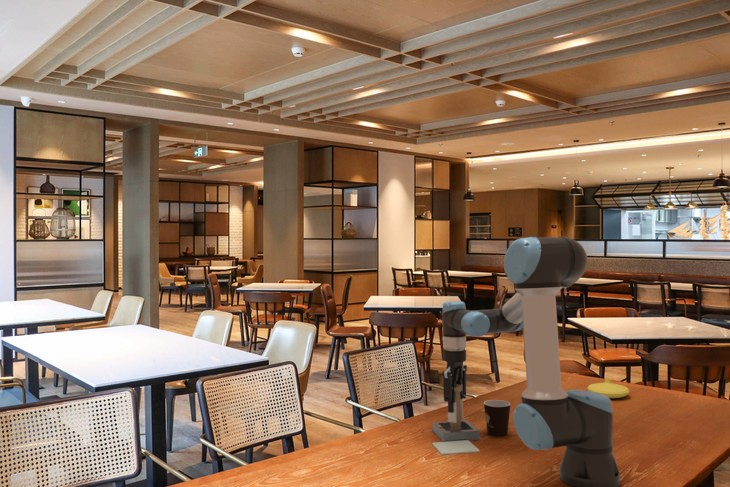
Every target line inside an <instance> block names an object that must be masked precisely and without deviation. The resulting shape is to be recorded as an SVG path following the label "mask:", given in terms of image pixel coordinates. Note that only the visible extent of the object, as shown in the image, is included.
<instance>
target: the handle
mask: <svg viewBox="0 0 730 487" xmlns="http://www.w3.org/2000/svg"><path fill="white" fill-rule="evenodd" d="M452 389H453V387H452ZM462 390H463V385H462V384H461V385H459V384H456V387H455V388H454V391H455V402H456V417H457V422H456V423H453V422H450V426H451V427H450V429H451V431H459V430H461V427H460V426H461V420H462V419H461V401H460V392H461V391H462Z"/></svg>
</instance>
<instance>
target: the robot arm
mask: <svg viewBox="0 0 730 487" xmlns="http://www.w3.org/2000/svg"><path fill="white" fill-rule="evenodd" d="M587 267H588V255H587V253H586V250H585V249H584V247H583V245H582V244H580V242H578V241H576V240H575V239H574V238H570V237H569V236H568V237H566V236H530V237H521V238H518V239H515V240H514V241H512V243H510V245H509V246H508V248H507V249H506V253H505V254H504V260H503V269H504V274H505V275H506V277H507V280H509V281H510V282H511V283H513V284H514V290H515V291H516V292H515V294H514V295H512V297H511V298H509V300H507V302H505V303H504V304H503V305H502V306H500V307H499V308H492V309H480V310H479V309H478V310H475V309H474V310H470V309H467V308H466V307H467V306H466V303H465V302H464V301H459V300H458V301H457V300H456V301H455V300H451V301H444V302H443V303H442V311H441V316H442V317H441V318H442V320H441V322H442V348H443V350H442V360H443V361H444V362H446V370H443V371H442V372H441V376H442V380H443V382H442V384H443V385H442V387H443V401H444V402H446V403H447V421H448V422H453V423H456V422H457V417H456V402H455V391H454V388H455V387H456V384H459V385H461V384H462V385H463V390H462V391H461V392H460V401H461V420H464V400H463V399H466V398H467V396H466V395H467V369H468V366H467V365H465V364H463V363H465V362H466V361H467V350H466V348H467V335H468V336H470V337H478V338H479V337H480V338H481V337H483V336H485V335H487V334H501V333H514V332H517V331H521V330H522V329H523V342H524V343H523V344H524V345H523V346H524V359H525V360H524V361H525V376H526V377H525V378H526V389H524V391H523V392H522V393H521V403H519V404H518V405H517V406H516V407H514V411H513V416H512V419H513V426H514V428H515V429H514V430H515V431H516V434H517V435H518V438H519V439H520V440H521V441H522V442H523V444H524V445H525V446H526V447H527V448H529V449H530V450H535V451H539V450H541V451H542V450H547V451H548V450H551V449H555V448H560V447H565V450H564V454H563V457H562V461H561V463H560V466H559V478H560V480H561V481H562V482H564V483H565V484H567V485H569V486H572V487H619V486H620V485H621V473H620V471H619V467H618V465H617V461H616V459H615V455H614V453H613V449H614V448H613V418H614V417H613V414H614V412H613V406H612V400H611V398H608V397H607V396H605V395H603V394H599V393H595V392H590V391H588V390H584V389H583V390H582V389H567V390H566V391H565V390H564V389H563V387H562V377H561V374H562V373H561V361H560V345H559V344H560V343H559V331H558V330H559V329H558V316H557V315H558V314H557V313H558V312H557V300H556V294H558V292H560V291H561V290H562V289H563V288H566V289H567V288H569V287H572V285H574V284H575V283H577V282H578V281H579V280H580V279H581V278H582V277H583V275H584V274H585V272H586V270H587ZM452 387H453V389H452Z"/></svg>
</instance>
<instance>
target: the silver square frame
mask: <svg viewBox="0 0 730 487" xmlns="http://www.w3.org/2000/svg"><path fill="white" fill-rule="evenodd" d="M450 427H451V426H450V422H448V420H445V421H443V420H442V421H432V432H433V434H435V435H436V437H438V439H440V440H441V442H450V441H462V440H469V441H470V442H471V441H480V438H481V436H480V435H481V434H480V433H481V431H480V429H478V427H476V426H475V425H474V424H473V423H472V422H470V421H469V420H468V419H461V426H460V427H461V430H459V431H451V429H450Z"/></svg>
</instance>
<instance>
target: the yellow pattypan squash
mask: <svg viewBox="0 0 730 487" xmlns="http://www.w3.org/2000/svg"><path fill="white" fill-rule="evenodd" d="M587 391H590V392H595V393H599V394H603V395H605V396H607V397H608V398H609V399H621V398H624V397H626V396H627V395H629V393H630V389H629V388H628V387H627V386H625V385H622V384H617V383H613V382H612V378H608V377H607V378H604V382H598V383H592V384H589V385H588V386H587Z"/></svg>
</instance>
